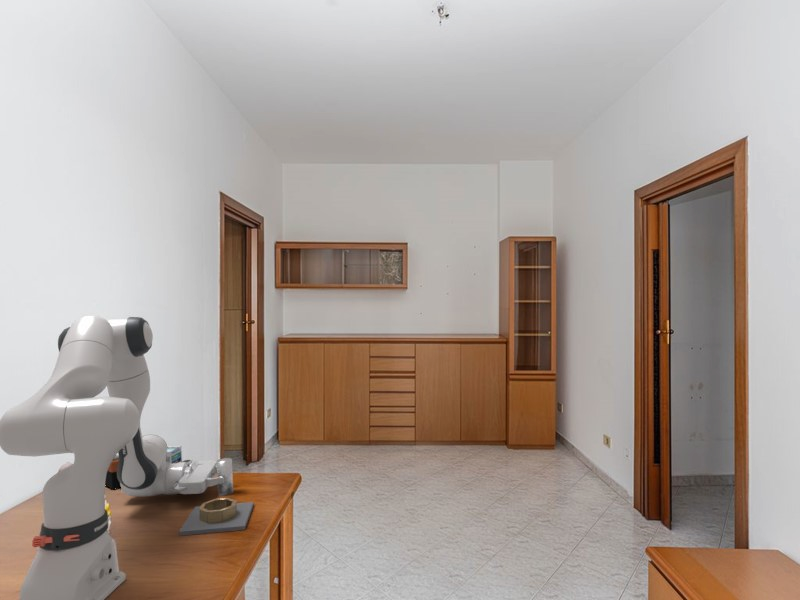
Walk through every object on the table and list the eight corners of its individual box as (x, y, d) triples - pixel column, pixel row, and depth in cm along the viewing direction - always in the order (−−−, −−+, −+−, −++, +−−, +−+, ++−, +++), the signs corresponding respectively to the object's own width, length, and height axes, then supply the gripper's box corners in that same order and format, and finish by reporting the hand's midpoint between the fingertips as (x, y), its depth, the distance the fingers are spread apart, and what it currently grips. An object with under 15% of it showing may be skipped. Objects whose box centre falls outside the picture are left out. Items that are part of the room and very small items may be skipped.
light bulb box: (183, 477, 177) (182, 445, 177) (172, 484, 171) (171, 451, 171) (153, 477, 178) (152, 445, 178) (141, 484, 172) (140, 451, 172)
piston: (231, 494, 160) (230, 461, 160) (216, 496, 159) (215, 463, 159) (234, 489, 164) (233, 457, 164) (219, 490, 164) (218, 458, 164)
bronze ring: (232, 521, 138) (232, 509, 138) (197, 524, 137) (196, 512, 137) (238, 507, 147) (238, 497, 147) (205, 510, 146) (204, 499, 146)
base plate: (244, 529, 135) (244, 525, 135) (179, 535, 133) (179, 531, 133) (253, 505, 151) (253, 501, 151) (195, 510, 149) (195, 506, 149)
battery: (112, 490, 167) (111, 459, 167) (103, 486, 171) (102, 455, 171) (127, 486, 170) (125, 455, 170) (117, 482, 175) (116, 452, 174)
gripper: (169, 479, 150) (219, 475, 151) (188, 457, 170) (232, 454, 172) (169, 501, 150) (220, 497, 151) (189, 477, 170) (233, 473, 172)
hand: (227, 474), depth 162 cm, fingers open, 8 cm apart
